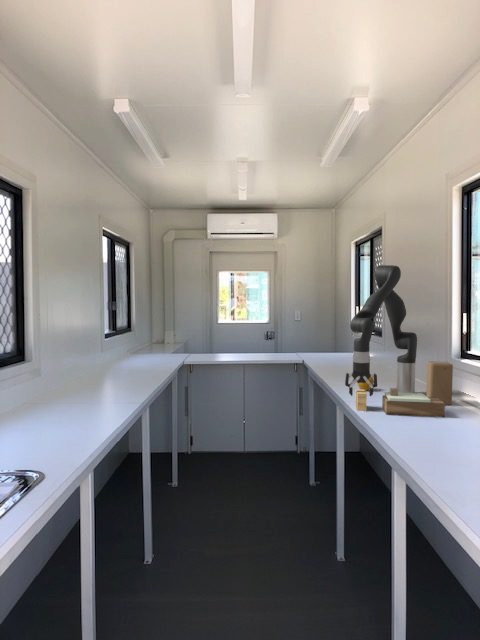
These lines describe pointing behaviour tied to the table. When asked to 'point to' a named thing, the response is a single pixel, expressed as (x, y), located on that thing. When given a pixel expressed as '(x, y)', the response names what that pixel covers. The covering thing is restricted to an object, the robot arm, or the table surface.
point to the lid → (406, 396)
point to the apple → (364, 385)
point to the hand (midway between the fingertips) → (360, 395)
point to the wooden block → (439, 381)
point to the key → (361, 400)
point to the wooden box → (414, 407)
